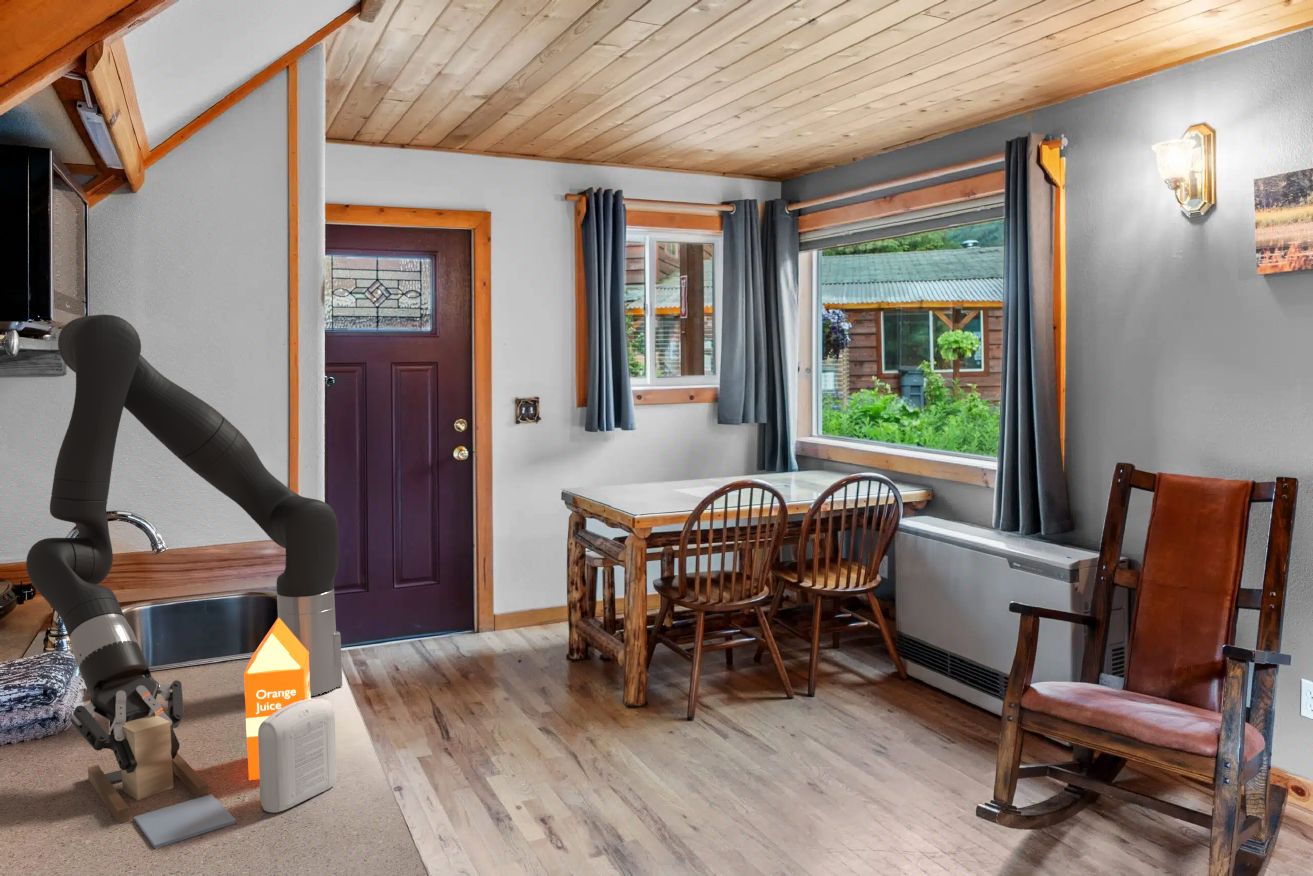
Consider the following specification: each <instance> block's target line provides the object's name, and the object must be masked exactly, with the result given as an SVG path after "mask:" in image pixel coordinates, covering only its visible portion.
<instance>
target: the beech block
mask: <svg viewBox="0 0 1313 876" xmlns="http://www.w3.org/2000/svg"><path fill="white" fill-rule="evenodd" d="M122 727H123V729H124V732H125V738H124V739H125V740H128V743H129V745H130V747H131V750H132V752H133V755H134V757H135V760H136V761H137V767H136V768H135V770H134V772H131V773H127V772H126V770H122V769H121V770H122V781H121V785H122V792H124V793H125V794H127V795H129V796H131V797H132V798H134V799H135V800H136V801H140V800H143V799H146V798H149V797H151V796H154V795H157V794H160V793H162V792H166V791H168V790H171V789H173V788H174V775H173V774H174V772H173V769H172V756H171V731H170V721H168V720H166V719H164V718H161V717H159V716H152V715H150V716H146V717H143V718H139V719H136V720H132V721H129V722H126V723H125V725H124V726H122Z"/></svg>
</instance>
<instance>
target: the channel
mask: <svg viewBox="0 0 1313 876" xmlns="http://www.w3.org/2000/svg"><path fill="white" fill-rule="evenodd" d="M172 769H173V774H175V775H176V776H177V778H179V779H180V781H181V782H182V783H183V784H184V785H185V786H186V787H187V789H188V790H189V791H190V792H191V793H192V794H193V795H194V797H195V798H200V797H203V796H206V795H210V794H209V793H210V792H209V785H208V783H207V782H206V781H205V780H204V779H203V778H202V777H201V776H200V775H199V774H198V773H197V772H196V771H195V769H193V768H192V766H191V765H190V764H189V763H188V762H187V761H186V760H185V759H184V758H183V757H182V756H181V755H180V754H179V753H178V752H177V754H176V756H175V758H174V759H172ZM87 773H88V774H87V776H88V780H89V782H90V784H91V785H92V786H93V788H94V789H95V791H96V792H97V794H98V795H99V798H101V800H102V802H103V803H104V804H105V806H106V807H107V809H108V810H109V811H110V813H111V815H112V817H113V818H114V820H115V821H116V822H117V824H123V823H124V822H128V821H130V811H129V810H130V809H129V808H130V807H129V806H128V804H127V803H126V802H125V801H124V799H123V798H122V797H121V795H120V794H119V792H118V791H117V789H116V788H115V787H114V785H113V784H111V783H110V781H109V780H108V778H107V777H106V776H105V774H106V773H104V771H103V770H102V768H101V767H100V766H99V765H98V764H97V765H94V766H89V767H87Z"/></svg>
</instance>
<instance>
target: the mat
mask: <svg viewBox="0 0 1313 876" xmlns="http://www.w3.org/2000/svg"><path fill="white" fill-rule="evenodd" d="M133 819H134V821H135V822H136V824H137V826H138V827H139V829H140V830H141V832H143V834H144V836H145V837H146V838H147V840H148V841H149V842H150V844H151V845H152V846H153V848H154V849H158V848H161V847H164V846H167V845H170V844H173V843H177V842H180V841H184V840H186V839H190V838H192V837H193V838H194V837H196V836H199V835H202V834H206V833H208V832H213V831H215V830H218V829H221V828H225V827H227V826H230V825H231V826H232V825H233V824H237V820H236V818H235V817H234V815H232V814H231V813H230V812H229V811H228V810H227V809H226V807H224V805H223V804H222V803H221V802H220V801H219V800H218V799H217V798H216V797H215V796H214V795H213V793H210V794H209V795H206V796H203V797H200V798H197V797H195V798H193V799H190V800H186V801H182V802H179V803H176V804H172V805H169V806H166V807H162V808H159V809H155V810H152V811H149V812H148V811H147V812H145V813H142V814H138V815H135V816H134V817H133Z"/></svg>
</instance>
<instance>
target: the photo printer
mask: <svg viewBox="0 0 1313 876" xmlns="http://www.w3.org/2000/svg"><path fill="white" fill-rule="evenodd" d="M258 750H259V779H258V780H259V799H260V805H261V807H262V810H263V811H264V812H266V813H273V814H275V813H280V812H283V811H285V810H288V809H290V808H292V807H294V806H296V805H298V804H300V803H302V802H304V801H307V800H308V799H311V798H312V797H315V796H317V795H319V794H321V793H323V792H325V791H327V790H329V789H330V788H332V787H334V786H335V785H336V783H337V753H336V751H337V750H336V718H335V710H334V707H333V705H332V704H331V702H330V700H327V699H322V698H311V699H306V700H301V701H298V702H295V703H292V704H290V705H288V706H285V707H283V708H282V709H280V710H278V711H276V712H275V713H273V714H272V715H270V716H269V717H268V718H267V719H265V720H264V721H263V722H262V723H261V725H260V727H259V730H258Z"/></svg>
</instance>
